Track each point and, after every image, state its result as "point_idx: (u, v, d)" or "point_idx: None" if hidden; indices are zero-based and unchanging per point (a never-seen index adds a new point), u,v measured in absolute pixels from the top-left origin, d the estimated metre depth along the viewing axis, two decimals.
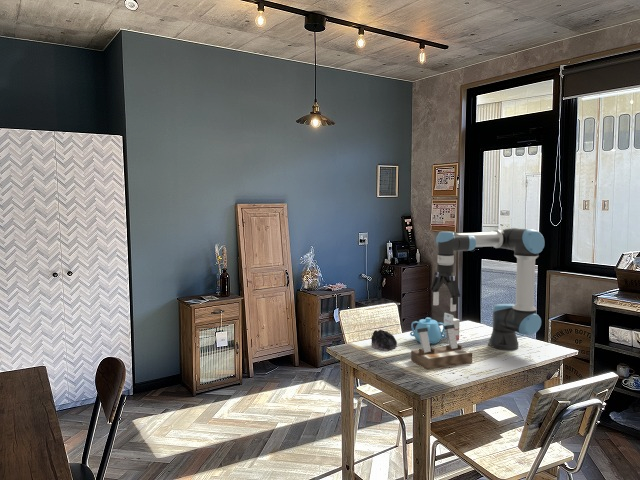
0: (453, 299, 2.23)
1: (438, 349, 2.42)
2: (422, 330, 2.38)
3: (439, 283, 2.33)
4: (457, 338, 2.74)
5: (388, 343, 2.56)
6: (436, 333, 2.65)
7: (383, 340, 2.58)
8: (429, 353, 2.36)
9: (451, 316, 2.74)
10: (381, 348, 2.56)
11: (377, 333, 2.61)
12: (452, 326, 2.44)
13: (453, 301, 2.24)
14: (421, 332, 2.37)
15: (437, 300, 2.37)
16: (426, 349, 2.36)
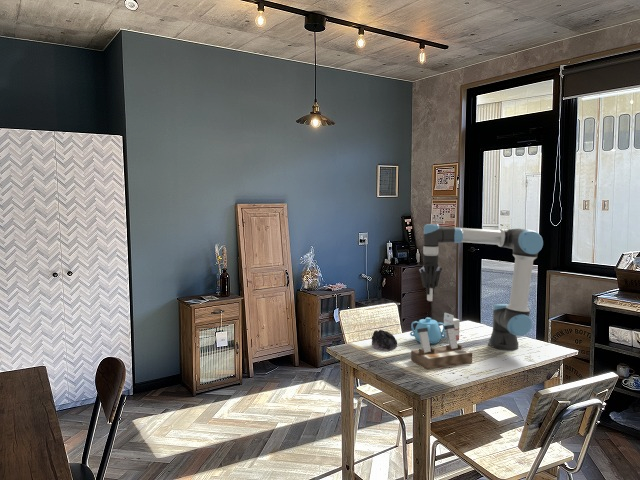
0: None
1: (438, 349, 2.42)
2: (422, 330, 2.38)
3: None
4: (457, 338, 2.74)
5: (388, 343, 2.56)
6: (436, 333, 2.65)
7: (383, 340, 2.57)
8: (429, 353, 2.36)
9: (451, 316, 2.74)
10: (381, 348, 2.56)
11: (377, 333, 2.60)
12: (452, 326, 2.44)
13: None
14: (421, 332, 2.37)
15: None
16: (426, 349, 2.36)
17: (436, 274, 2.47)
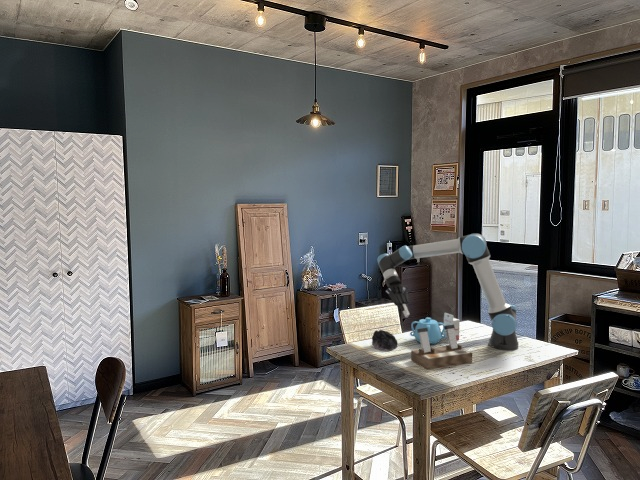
0: None
1: (438, 349, 2.42)
2: (422, 330, 2.38)
3: (399, 295, 2.60)
4: (457, 338, 2.74)
5: (389, 343, 2.56)
6: (436, 333, 2.65)
7: (384, 340, 2.57)
8: (429, 353, 2.36)
9: (451, 316, 2.74)
10: (381, 348, 2.56)
11: (378, 333, 2.60)
12: (452, 326, 2.44)
13: None
14: (421, 332, 2.37)
15: None
16: (426, 349, 2.36)
17: (404, 294, 2.60)
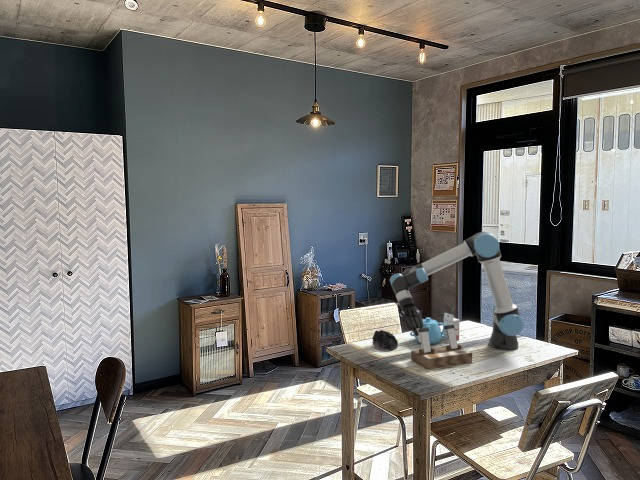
0: None
1: (438, 349, 2.42)
2: (423, 330, 2.37)
3: None
4: (457, 338, 2.74)
5: (389, 343, 2.56)
6: (436, 333, 2.65)
7: (384, 340, 2.57)
8: (429, 353, 2.36)
9: (451, 316, 2.74)
10: (382, 348, 2.55)
11: (378, 333, 2.60)
12: (452, 326, 2.44)
13: None
14: (422, 332, 2.37)
15: None
16: (426, 349, 2.36)
17: (418, 317, 2.48)
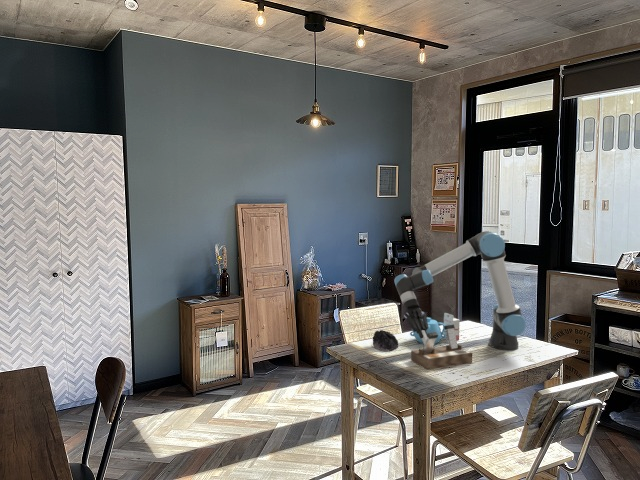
0: None
1: (438, 349, 2.42)
2: (432, 336, 2.30)
3: (417, 320, 2.44)
4: (457, 338, 2.74)
5: (389, 343, 2.56)
6: None
7: (384, 340, 2.57)
8: (429, 353, 2.36)
9: (451, 316, 2.74)
10: (382, 348, 2.55)
11: (378, 333, 2.60)
12: (452, 326, 2.44)
13: None
14: (430, 338, 2.30)
15: None
16: (427, 351, 2.35)
17: (423, 319, 2.44)
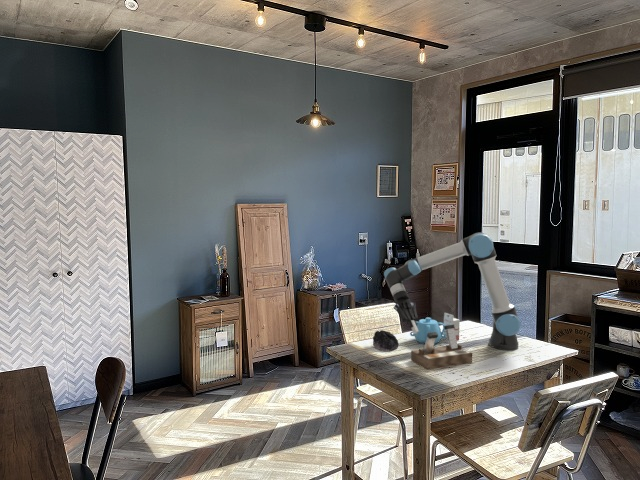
0: None
1: (438, 349, 2.42)
2: (432, 336, 2.30)
3: (407, 311, 2.53)
4: (457, 338, 2.74)
5: (390, 343, 2.56)
6: None
7: (385, 340, 2.57)
8: (429, 353, 2.36)
9: (451, 316, 2.74)
10: (382, 349, 2.55)
11: (379, 333, 2.60)
12: (452, 326, 2.44)
13: None
14: (430, 338, 2.30)
15: None
16: (427, 351, 2.35)
17: (412, 309, 2.53)
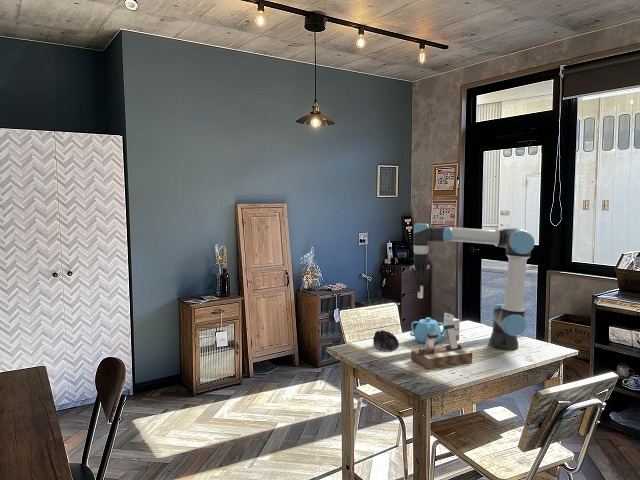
0: None
1: (438, 349, 2.42)
2: (432, 336, 2.30)
3: None
4: (457, 338, 2.74)
5: (390, 344, 2.55)
6: None
7: (385, 341, 2.57)
8: (429, 353, 2.36)
9: (451, 316, 2.74)
10: (383, 349, 2.55)
11: (379, 334, 2.60)
12: (452, 326, 2.44)
13: None
14: (430, 338, 2.30)
15: None
16: (427, 351, 2.35)
17: (426, 272, 2.54)
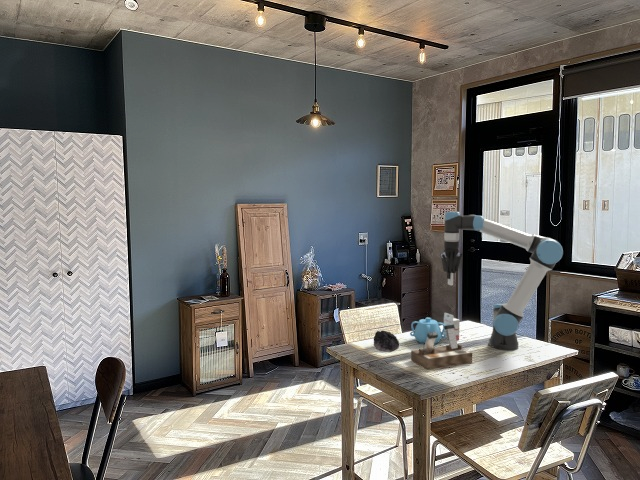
0: None
1: (438, 349, 2.42)
2: (432, 336, 2.30)
3: (451, 260, 2.57)
4: (457, 338, 2.74)
5: (390, 344, 2.55)
6: None
7: (385, 341, 2.56)
8: (429, 353, 2.36)
9: (451, 316, 2.74)
10: (383, 349, 2.55)
11: (379, 334, 2.59)
12: (452, 326, 2.44)
13: None
14: (430, 338, 2.30)
15: None
16: (427, 351, 2.35)
17: (456, 259, 2.58)
